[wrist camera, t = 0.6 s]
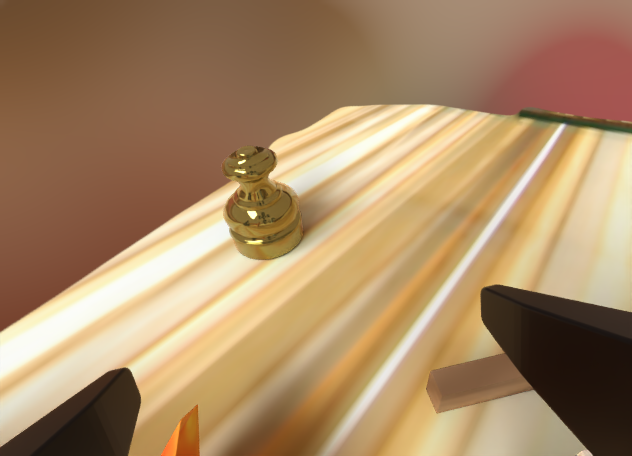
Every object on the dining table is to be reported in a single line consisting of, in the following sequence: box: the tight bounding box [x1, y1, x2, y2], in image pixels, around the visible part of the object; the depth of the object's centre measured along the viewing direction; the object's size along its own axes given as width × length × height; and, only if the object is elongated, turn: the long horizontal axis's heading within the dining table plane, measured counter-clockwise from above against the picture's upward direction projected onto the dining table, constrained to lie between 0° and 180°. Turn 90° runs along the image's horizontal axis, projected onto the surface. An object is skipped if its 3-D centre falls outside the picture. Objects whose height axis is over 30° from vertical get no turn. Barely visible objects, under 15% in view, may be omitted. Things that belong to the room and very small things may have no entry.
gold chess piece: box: [221, 146, 303, 260], centre depth 32 cm, size 7×7×10 cm
